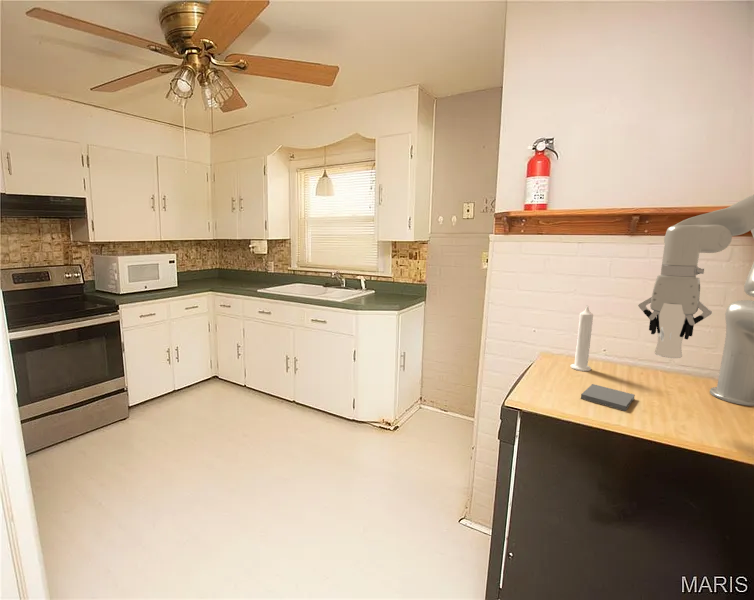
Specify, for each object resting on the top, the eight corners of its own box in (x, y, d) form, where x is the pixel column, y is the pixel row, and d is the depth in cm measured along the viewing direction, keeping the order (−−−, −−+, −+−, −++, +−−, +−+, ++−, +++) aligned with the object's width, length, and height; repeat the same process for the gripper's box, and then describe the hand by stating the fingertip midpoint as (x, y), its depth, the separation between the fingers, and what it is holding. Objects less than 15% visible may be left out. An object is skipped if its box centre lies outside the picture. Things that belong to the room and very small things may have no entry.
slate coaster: (634, 399, 118) (634, 394, 118) (625, 411, 110) (626, 406, 109) (591, 388, 126) (592, 383, 126) (580, 398, 118) (581, 394, 118)
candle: (593, 372, 142) (601, 307, 138) (573, 370, 143) (580, 306, 139) (587, 366, 149) (594, 304, 145) (568, 364, 150) (574, 303, 146)
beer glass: (674, 360, 100) (680, 305, 98) (647, 353, 107) (652, 301, 104) (689, 356, 103) (696, 303, 101) (662, 350, 109) (667, 299, 107)
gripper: (722, 273, 97) (712, 339, 100) (642, 269, 109) (635, 328, 112) (721, 275, 92) (710, 345, 95) (637, 270, 104) (629, 332, 107)
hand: (669, 335), depth 104 cm, fingers closed on beer glass, 6 cm apart
